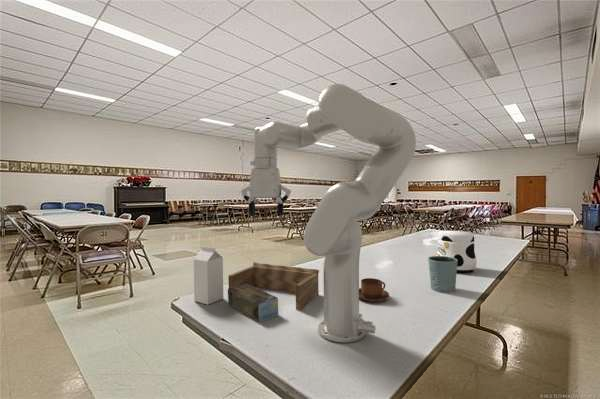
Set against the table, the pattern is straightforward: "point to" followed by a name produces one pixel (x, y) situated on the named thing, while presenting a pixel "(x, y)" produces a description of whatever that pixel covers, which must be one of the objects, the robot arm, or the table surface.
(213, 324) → the table surface
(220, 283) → the milk carton
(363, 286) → the cup and saucer
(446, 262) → the teal cup
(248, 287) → the beverage carton
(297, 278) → the frame
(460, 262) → the milk container
